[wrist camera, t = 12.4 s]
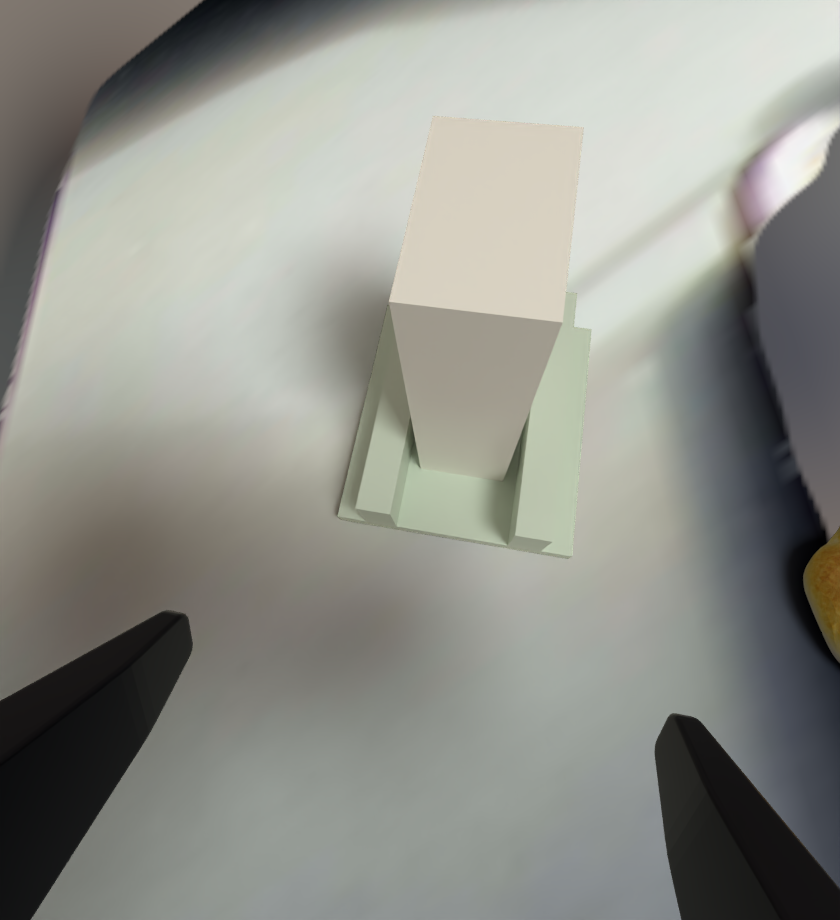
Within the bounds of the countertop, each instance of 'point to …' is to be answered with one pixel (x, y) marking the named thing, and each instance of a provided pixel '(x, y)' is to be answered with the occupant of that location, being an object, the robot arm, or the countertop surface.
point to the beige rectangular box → (483, 285)
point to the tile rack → (464, 497)
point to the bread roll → (826, 591)
